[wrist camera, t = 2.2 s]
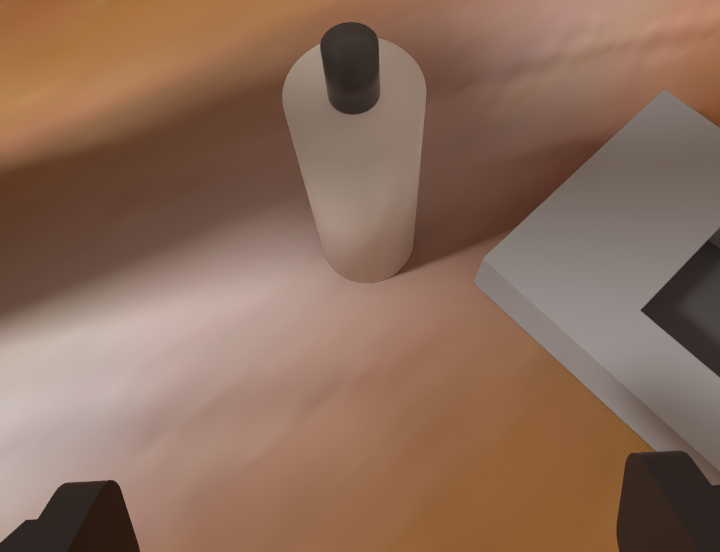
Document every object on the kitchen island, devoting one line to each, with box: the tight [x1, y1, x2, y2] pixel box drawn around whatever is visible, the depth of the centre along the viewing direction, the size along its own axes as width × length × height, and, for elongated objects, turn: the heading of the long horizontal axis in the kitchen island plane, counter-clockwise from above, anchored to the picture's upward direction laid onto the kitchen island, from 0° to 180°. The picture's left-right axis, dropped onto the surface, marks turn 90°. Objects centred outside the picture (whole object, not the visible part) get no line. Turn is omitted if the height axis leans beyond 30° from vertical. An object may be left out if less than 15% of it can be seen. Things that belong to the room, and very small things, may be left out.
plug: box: [282, 22, 426, 283], centre depth 22 cm, size 4×4×13 cm
